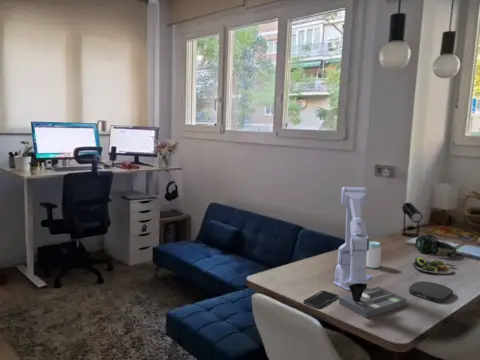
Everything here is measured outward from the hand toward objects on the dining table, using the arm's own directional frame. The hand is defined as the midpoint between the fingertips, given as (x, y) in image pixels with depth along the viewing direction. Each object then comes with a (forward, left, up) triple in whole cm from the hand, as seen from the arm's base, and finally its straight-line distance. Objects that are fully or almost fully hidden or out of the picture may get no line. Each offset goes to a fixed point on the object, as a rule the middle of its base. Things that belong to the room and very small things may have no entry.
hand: (356, 301), depth 162 cm
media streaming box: (+5, +38, -4) cm, 39 cm away
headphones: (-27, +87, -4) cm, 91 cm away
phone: (-13, -6, -4) cm, 15 cm away
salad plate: (-14, +65, -4) cm, 67 cm away
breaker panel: (0, +9, -3) cm, 10 cm away
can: (-30, +42, -3) cm, 52 cm away
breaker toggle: (0, +4, 0) cm, 4 cm away
